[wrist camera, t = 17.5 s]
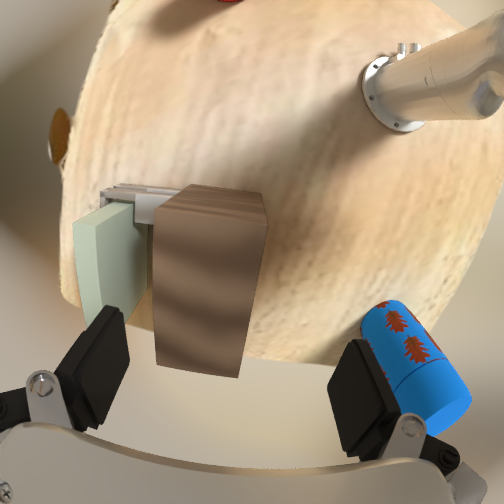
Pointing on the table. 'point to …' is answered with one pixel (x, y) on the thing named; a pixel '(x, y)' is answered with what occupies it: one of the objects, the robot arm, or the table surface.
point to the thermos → (415, 366)
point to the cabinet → (200, 271)
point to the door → (110, 259)
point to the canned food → (229, 0)
